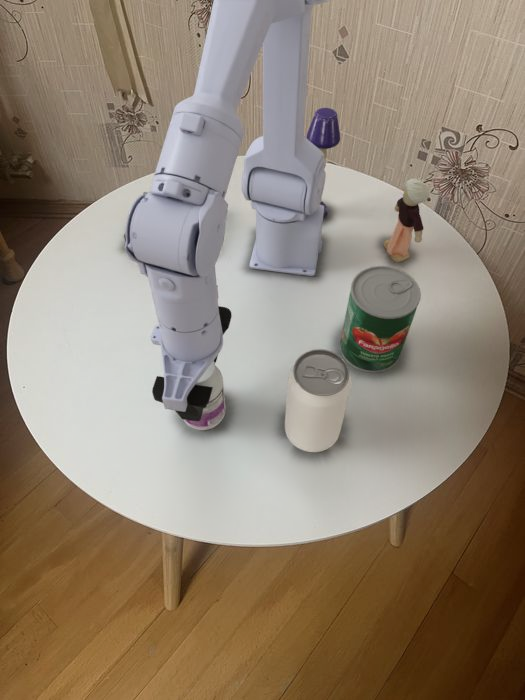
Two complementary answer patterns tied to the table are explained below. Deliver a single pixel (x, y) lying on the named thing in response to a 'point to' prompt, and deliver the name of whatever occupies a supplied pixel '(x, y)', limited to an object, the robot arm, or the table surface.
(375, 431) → the table surface
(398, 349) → the canned tomato
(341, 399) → the can
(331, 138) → the toy lamp
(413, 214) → the grandmother figurine
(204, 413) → the pill bottle
